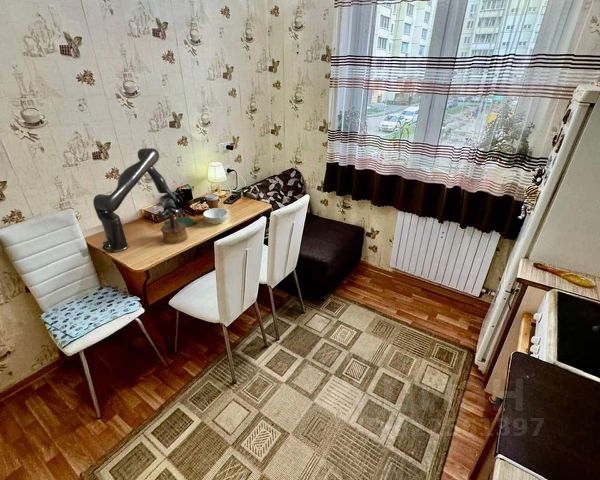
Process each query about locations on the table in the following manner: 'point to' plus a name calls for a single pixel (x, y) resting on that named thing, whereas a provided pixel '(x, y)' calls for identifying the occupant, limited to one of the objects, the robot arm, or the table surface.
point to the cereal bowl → (215, 215)
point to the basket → (175, 237)
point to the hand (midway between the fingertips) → (171, 217)
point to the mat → (184, 221)
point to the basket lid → (173, 226)
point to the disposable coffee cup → (212, 200)
